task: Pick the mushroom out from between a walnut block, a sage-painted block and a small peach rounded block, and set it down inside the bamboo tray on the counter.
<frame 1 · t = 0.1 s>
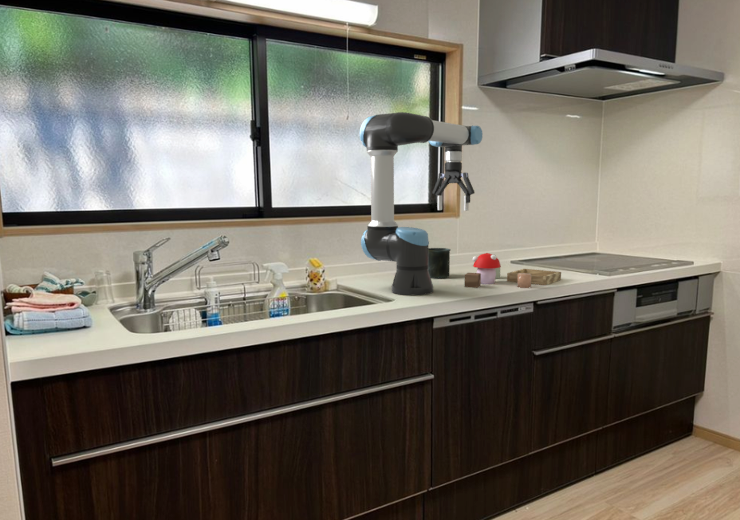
hand: (452, 210, 241), 28 cm above the worktop, fingers open, 13 cm apart
mug: (435, 276, 234), on the worktop
sage block: (491, 278, 229), on the worktop
bamboo tray: (534, 280, 221), on the worktop
mushroom: (486, 283, 217), on the worktop
peach rounded block: (524, 286, 207), on the worktop
walnut block: (472, 286, 209), on the worktop
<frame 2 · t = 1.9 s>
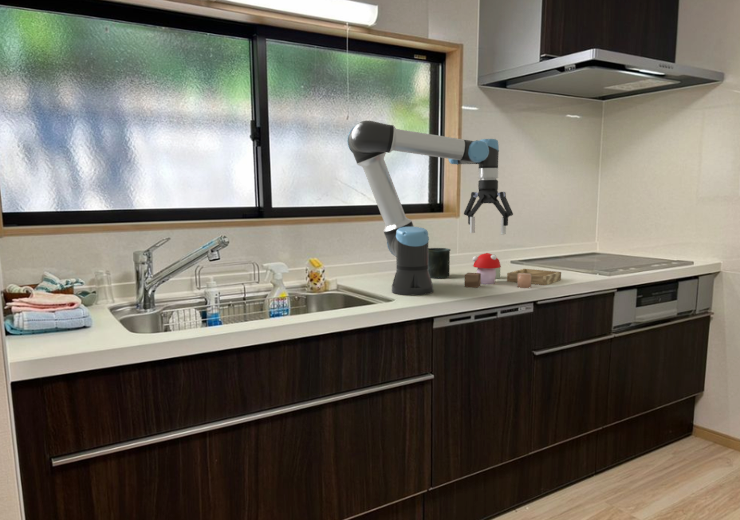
hand: (487, 233, 215), 20 cm above the worktop, fingers open, 13 cm apart
nothing on the worktop moved.
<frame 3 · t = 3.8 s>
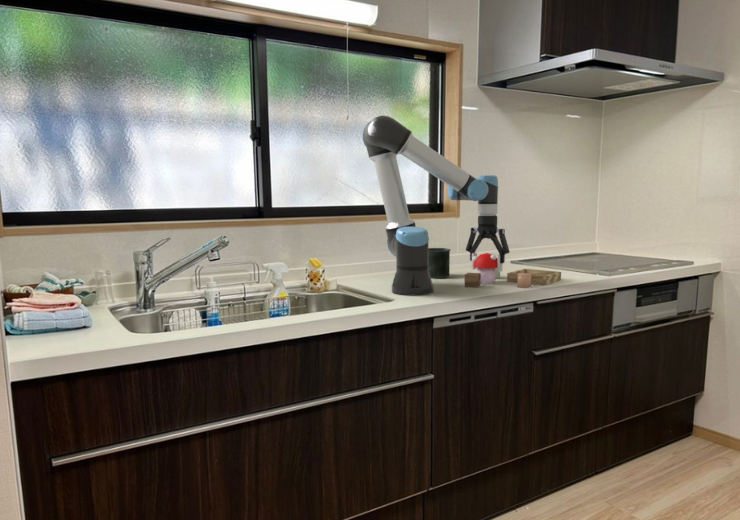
hand: (486, 270, 217), 5 cm above the worktop, fingers closed on mushroom, 11 cm apart
mushroom: (486, 283, 217), on the worktop, touching gripper
everything else where it was.
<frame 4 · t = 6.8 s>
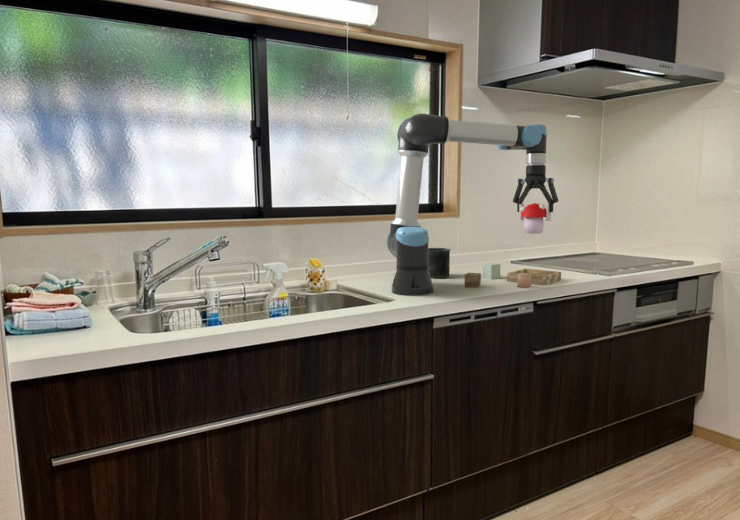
hand: (534, 220, 218), 24 cm above the worktop, fingers closed on mushroom, 11 cm apart
mushroom: (534, 233, 219), point 19 cm above the worktop, touching gripper
everything else where it was.
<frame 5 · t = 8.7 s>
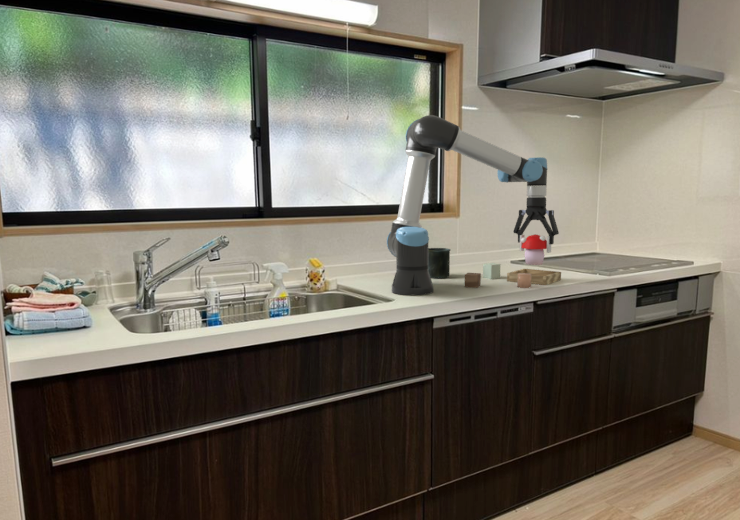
hand: (535, 251, 220), 12 cm above the worktop, fingers closed on mushroom, 11 cm apart
mushroom: (534, 264, 220), point 7 cm above the worktop, touching gripper
everything else where it was.
when the fingers open (7 cm above the worktop, at t = 10.1 s): mushroom drops 2 cm, resting on bamboo tray.
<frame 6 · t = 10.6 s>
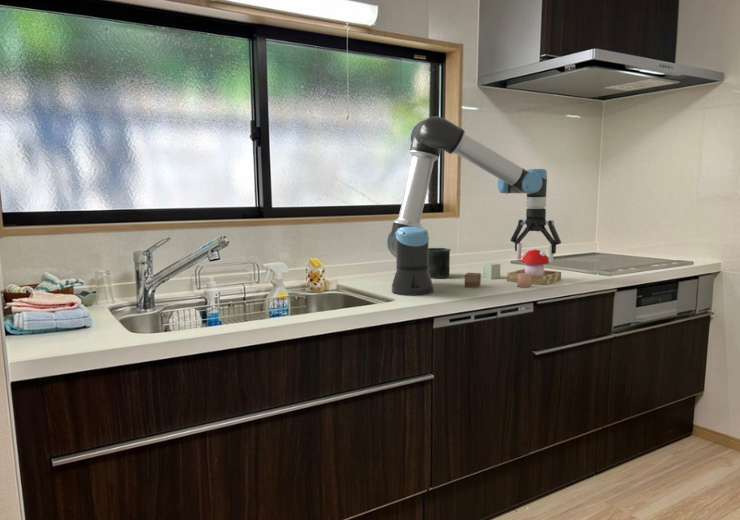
hand: (534, 260, 220), 8 cm above the worktop, fingers open, 13 cm apart
mushroom: (534, 279, 221), point 1 cm above the worktop, touching bamboo tray
everything else where it was.
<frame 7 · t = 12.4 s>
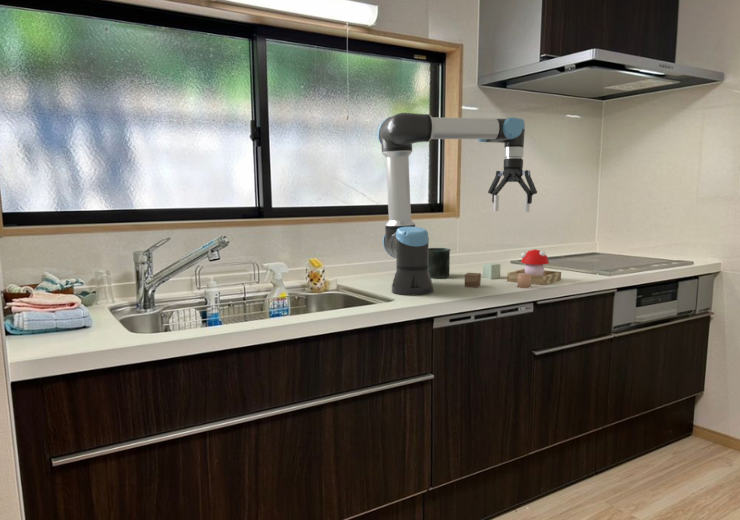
hand: (511, 211, 220), 28 cm above the worktop, fingers open, 13 cm apart
nothing on the worktop moved.
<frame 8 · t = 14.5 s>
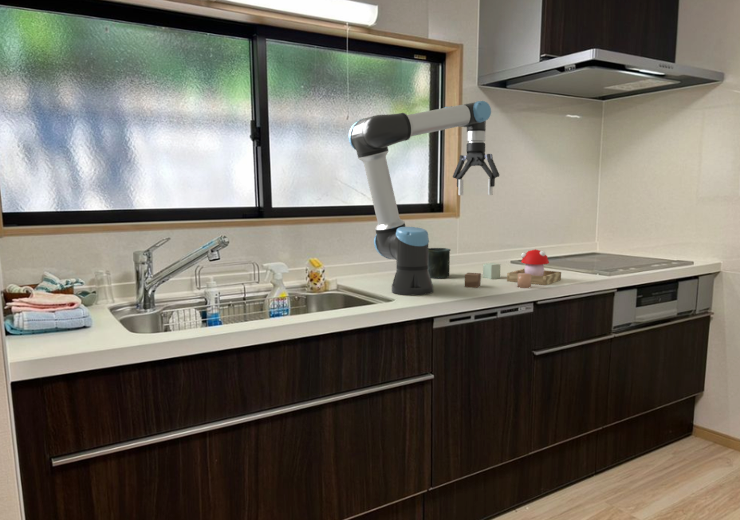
hand: (475, 195, 223), 35 cm above the worktop, fingers open, 13 cm apart
nothing on the worktop moved.
at the end: mushroom 0.1 cm from the bamboo tray (horizontally); mushroom point 0.6 cm above the worktop; the gripper is holding nothing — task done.
